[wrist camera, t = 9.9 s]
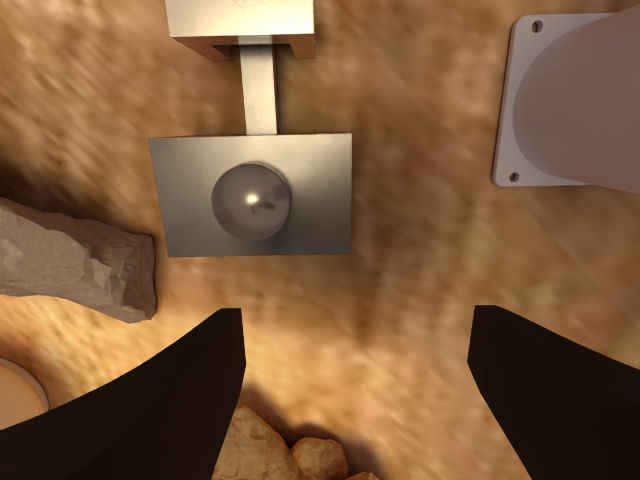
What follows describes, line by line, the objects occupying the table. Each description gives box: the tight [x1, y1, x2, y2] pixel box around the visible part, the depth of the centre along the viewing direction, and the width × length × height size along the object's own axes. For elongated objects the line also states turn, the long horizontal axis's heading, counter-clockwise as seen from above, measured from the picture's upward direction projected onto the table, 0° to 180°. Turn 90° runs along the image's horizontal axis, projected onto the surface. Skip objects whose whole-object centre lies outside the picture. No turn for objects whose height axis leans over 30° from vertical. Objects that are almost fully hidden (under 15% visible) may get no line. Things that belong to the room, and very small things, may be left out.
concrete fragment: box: [0, 197, 156, 324], centre depth 17 cm, size 7×14×6 cm, turn 56°
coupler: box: [148, 44, 352, 257], centre depth 15 cm, size 8×14×6 cm, turn 1°
